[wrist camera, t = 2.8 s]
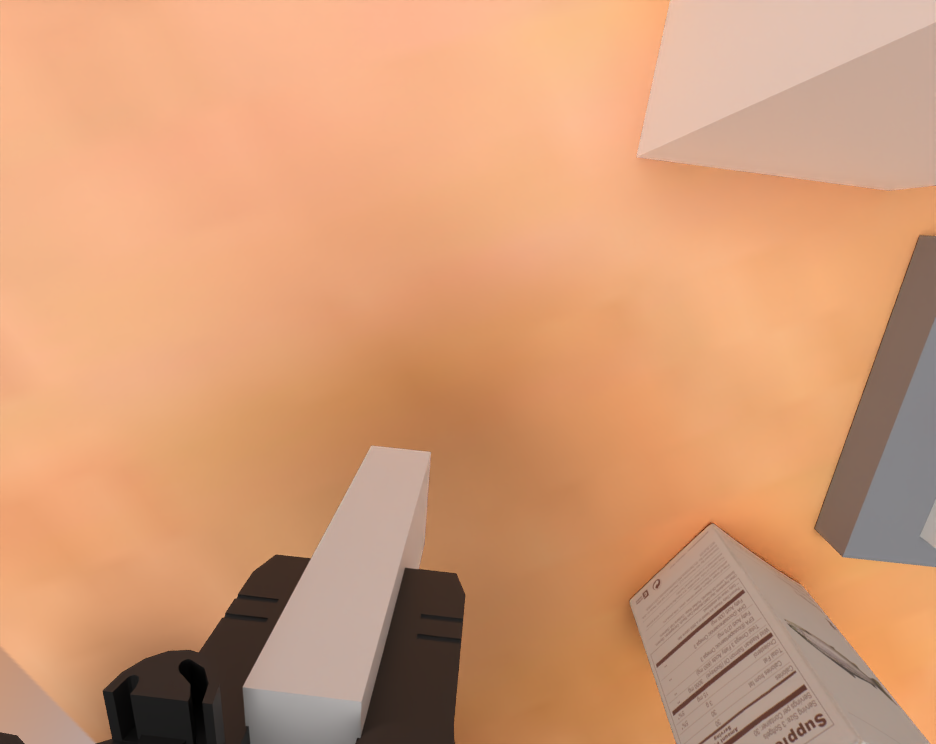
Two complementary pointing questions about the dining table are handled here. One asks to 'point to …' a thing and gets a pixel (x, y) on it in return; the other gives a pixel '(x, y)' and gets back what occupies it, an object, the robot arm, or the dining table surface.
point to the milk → (798, 90)
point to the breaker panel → (893, 438)
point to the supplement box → (756, 656)
